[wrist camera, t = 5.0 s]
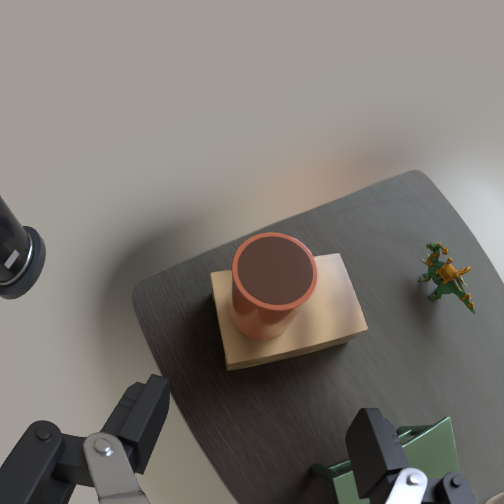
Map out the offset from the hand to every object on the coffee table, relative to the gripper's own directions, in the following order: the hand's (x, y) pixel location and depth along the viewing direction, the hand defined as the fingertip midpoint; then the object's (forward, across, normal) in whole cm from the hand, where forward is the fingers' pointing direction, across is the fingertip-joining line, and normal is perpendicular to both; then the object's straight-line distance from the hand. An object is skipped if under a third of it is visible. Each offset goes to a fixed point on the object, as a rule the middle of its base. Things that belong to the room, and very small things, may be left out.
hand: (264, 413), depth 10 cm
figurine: (+25, -25, 0) cm, 35 cm away
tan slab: (+20, -3, +5) cm, 21 cm away
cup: (+16, 0, +2) cm, 16 cm away
